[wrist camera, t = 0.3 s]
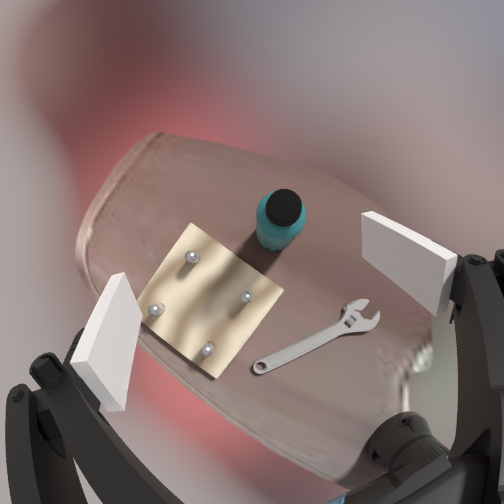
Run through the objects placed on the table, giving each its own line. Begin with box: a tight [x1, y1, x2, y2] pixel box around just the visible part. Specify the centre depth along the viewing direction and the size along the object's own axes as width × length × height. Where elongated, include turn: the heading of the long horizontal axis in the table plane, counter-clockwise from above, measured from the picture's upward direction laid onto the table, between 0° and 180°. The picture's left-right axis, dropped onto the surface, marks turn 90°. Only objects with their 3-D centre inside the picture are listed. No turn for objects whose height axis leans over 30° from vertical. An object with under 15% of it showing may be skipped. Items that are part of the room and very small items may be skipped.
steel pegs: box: [148, 251, 252, 357], centre depth 45 cm, size 13×13×4 cm
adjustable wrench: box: [253, 299, 380, 374], centre depth 47 cm, size 25×6×2 cm, turn 111°
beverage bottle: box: [256, 189, 306, 252], centre depth 39 cm, size 6×7×20 cm
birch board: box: [137, 223, 283, 379], centre depth 48 cm, size 20×20×2 cm
